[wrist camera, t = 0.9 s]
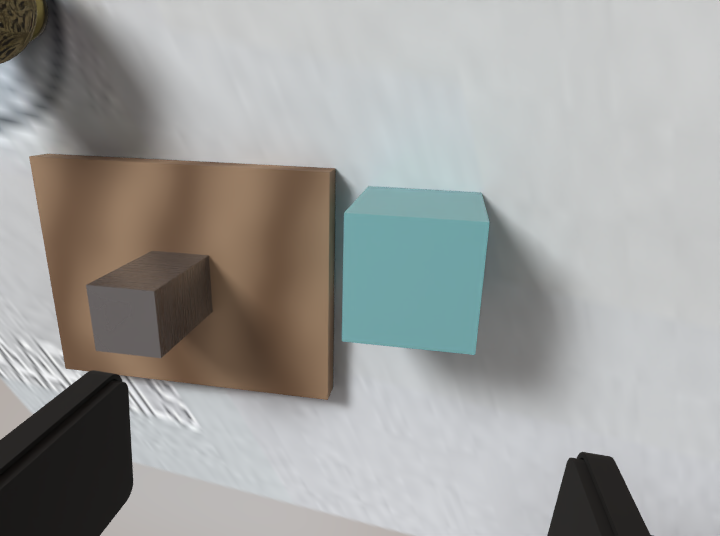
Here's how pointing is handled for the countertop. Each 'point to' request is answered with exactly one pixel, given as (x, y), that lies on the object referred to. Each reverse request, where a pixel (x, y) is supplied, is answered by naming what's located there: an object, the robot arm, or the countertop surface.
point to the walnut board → (226, 259)
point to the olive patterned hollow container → (20, 25)
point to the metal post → (150, 303)
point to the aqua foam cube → (414, 268)
